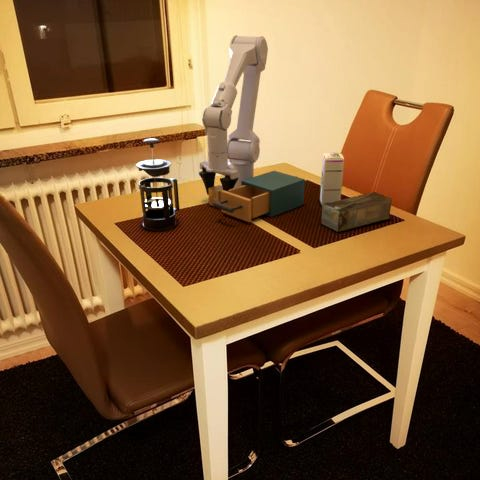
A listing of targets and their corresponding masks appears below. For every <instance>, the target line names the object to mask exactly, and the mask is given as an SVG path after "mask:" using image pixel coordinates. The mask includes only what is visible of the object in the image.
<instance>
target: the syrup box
mask: <svg viewBox="0 0 480 480" xmlns="http://www.w3.org/2000/svg"><path fill="white" fill-rule="evenodd" d="M344 166H345V157H344V154H343V153H341V152H325V153H322V165H321V178H320V191H319V192H320V193H319V202H320V205H321V206H323V204H324V203H329V202H334V201H338V200H342V189H343V179H344Z"/></svg>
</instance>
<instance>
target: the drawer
mask: <svg viewBox="0 0 480 480" xmlns="http://www.w3.org/2000/svg"><path fill="white" fill-rule="evenodd" d="M213 205H214V206H213V207H214V208H216V207H217V208H216V209H220V212H221V213H223V214H226V215H229V216H231V217H234V218H236V219H239V220H242V221H244V222H247V223H250V222H252V219H254V218H258V217H260V216H263V215H264V214H265V213H268V212H270V192H268V191H265V190H262V189H259V188H256V187H253V186H249V185H243V186H240V187H236V188H233V189H230V190H228V191H225V190H222V191H221V202H214V204H213Z"/></svg>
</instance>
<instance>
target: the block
mask: <svg viewBox="0 0 480 480" xmlns="http://www.w3.org/2000/svg"><path fill="white" fill-rule="evenodd" d="M208 189H209V195H208V205H209V206H211V207H214V205H213V204H214V202H221V191H222V190H223V188H222V184H221V185H220V184H217V185H214V187H211V188H208ZM215 208H216V209H218V208H217V207H215Z"/></svg>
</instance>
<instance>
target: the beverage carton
mask: <svg viewBox="0 0 480 480" xmlns="http://www.w3.org/2000/svg"><path fill="white" fill-rule="evenodd" d="M392 202H393V198H391V197H388V196H386V195H384V194H382V193H381V194H380V193H378V192H375V191H373V192H368V193H363V194H360V195H356V196H352V197H348V198H347V197H346V198H343V199H341V200H338V201H334V202H329V203H324V204H323V206H322V205H321V206H322V207H321V218H320V219H321V224H322V225H323V226H325V227H327V228H329V229H331V230H333V231H335V232H337V233H339V232H343V231H347V230H351V229H355V228H359V227H362V226H367V225H371V224H373V223H378V222H381V221H385V220H389V219H390V216H391V208H392Z"/></svg>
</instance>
